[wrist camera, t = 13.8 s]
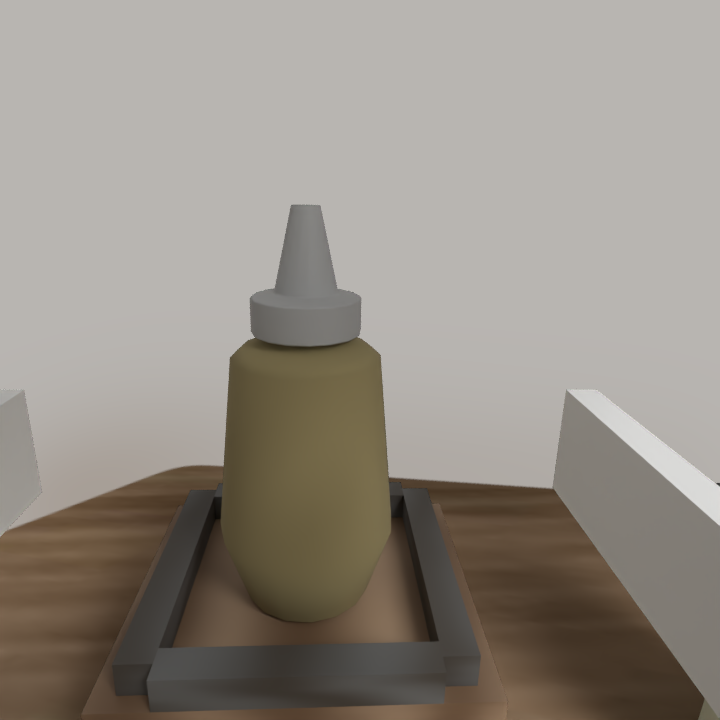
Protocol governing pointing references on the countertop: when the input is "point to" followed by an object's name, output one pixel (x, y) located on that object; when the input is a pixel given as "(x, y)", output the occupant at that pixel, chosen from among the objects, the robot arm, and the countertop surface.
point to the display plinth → (301, 635)
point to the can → (707, 712)
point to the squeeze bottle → (305, 440)
